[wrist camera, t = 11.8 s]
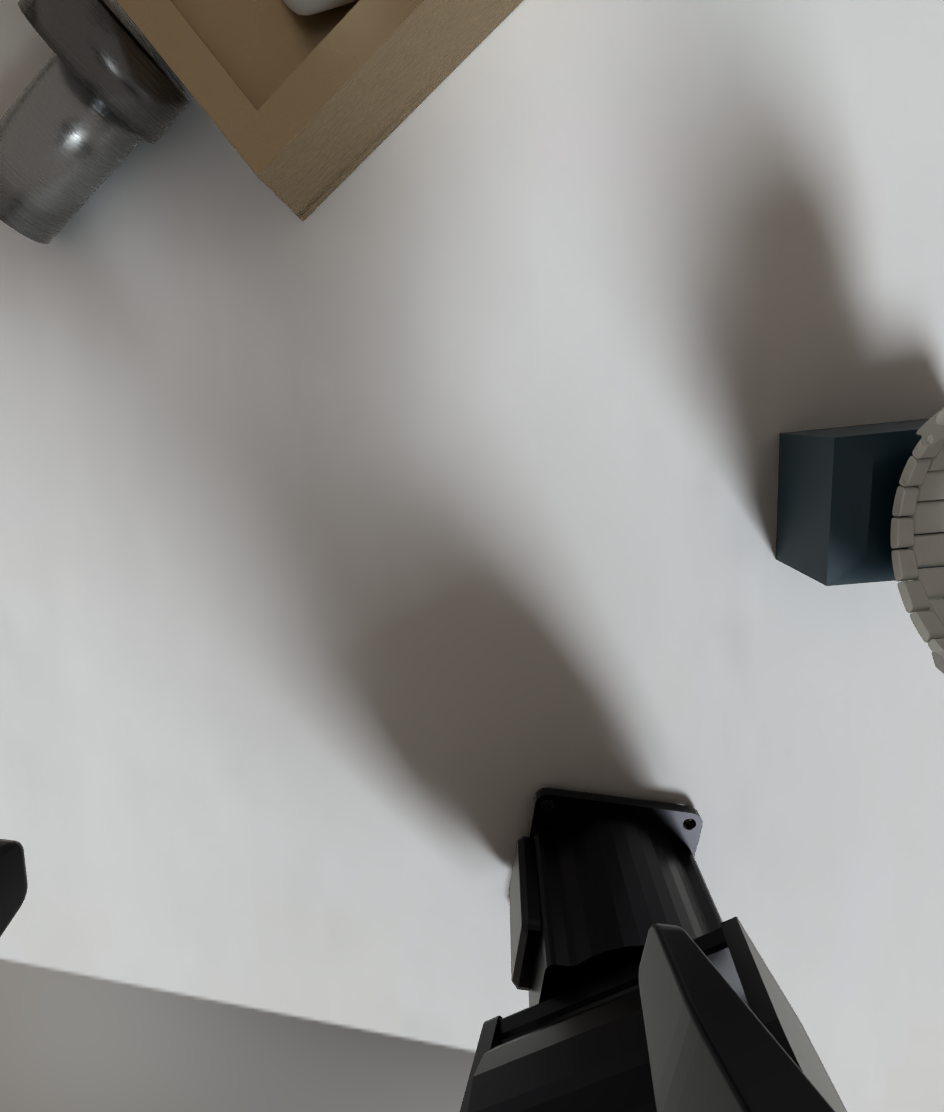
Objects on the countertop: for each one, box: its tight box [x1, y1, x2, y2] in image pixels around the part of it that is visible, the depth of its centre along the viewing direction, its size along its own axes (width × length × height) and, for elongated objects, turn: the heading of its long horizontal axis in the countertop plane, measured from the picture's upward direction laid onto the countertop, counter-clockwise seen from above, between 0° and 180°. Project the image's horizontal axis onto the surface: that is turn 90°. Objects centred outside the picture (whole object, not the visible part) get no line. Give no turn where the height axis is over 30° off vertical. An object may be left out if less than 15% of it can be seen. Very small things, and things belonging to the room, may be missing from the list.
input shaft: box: [0, 0, 190, 244], centre depth 16 cm, size 6×4×4 cm, turn 129°
